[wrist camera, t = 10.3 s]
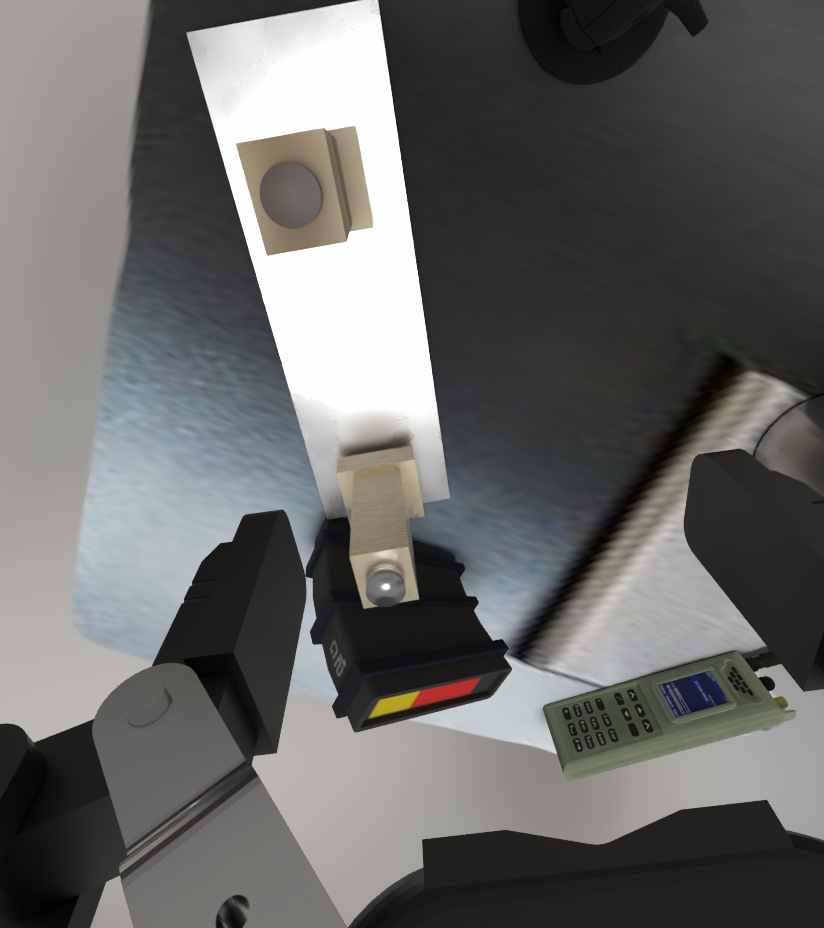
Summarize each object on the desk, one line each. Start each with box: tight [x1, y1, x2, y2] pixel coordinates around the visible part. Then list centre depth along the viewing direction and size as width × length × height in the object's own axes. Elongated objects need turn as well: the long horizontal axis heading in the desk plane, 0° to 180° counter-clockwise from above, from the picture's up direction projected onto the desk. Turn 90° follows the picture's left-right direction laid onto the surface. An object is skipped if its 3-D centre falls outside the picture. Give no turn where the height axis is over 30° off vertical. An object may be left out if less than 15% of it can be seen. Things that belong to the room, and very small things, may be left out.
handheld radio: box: [543, 651, 796, 781], centre depth 49 cm, size 7×3×25 cm
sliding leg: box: [236, 125, 374, 256], centre depth 23 cm, size 5×4×12 cm
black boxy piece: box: [305, 517, 512, 732], centre depth 37 cm, size 4×13×15 cm, turn 65°
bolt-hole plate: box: [187, 0, 450, 609], centre depth 27 cm, size 9×28×13 cm, turn 9°
